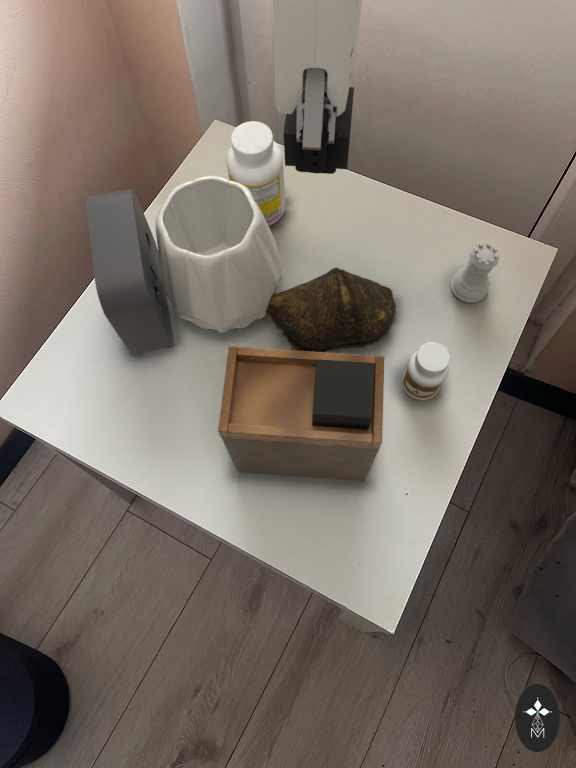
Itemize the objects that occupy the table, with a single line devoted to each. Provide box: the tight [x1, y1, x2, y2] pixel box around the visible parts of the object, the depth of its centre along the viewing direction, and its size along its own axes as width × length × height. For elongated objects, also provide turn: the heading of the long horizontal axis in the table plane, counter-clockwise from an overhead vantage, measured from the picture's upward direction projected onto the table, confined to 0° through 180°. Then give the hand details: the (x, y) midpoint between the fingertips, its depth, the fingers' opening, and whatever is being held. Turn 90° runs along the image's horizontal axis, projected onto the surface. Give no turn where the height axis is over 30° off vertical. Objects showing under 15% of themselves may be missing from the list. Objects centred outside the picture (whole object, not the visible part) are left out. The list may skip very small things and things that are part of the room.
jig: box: [217, 345, 385, 482], centre depth 61 cm, size 14×8×16 cm, turn 85°
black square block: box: [312, 359, 375, 430], centre depth 53 cm, size 5×5×4 cm
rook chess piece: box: [450, 242, 500, 303], centre depth 71 cm, size 4×4×8 cm
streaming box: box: [85, 188, 175, 355], centre depth 69 cm, size 14×14×5 cm
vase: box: [154, 175, 283, 334], centre depth 68 cm, size 14×14×15 cm
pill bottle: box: [401, 341, 451, 401], centre depth 67 cm, size 4×4×8 cm
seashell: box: [266, 267, 397, 353], centre depth 71 cm, size 16×9×7 cm, turn 98°
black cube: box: [282, 86, 355, 170], centre depth 48 cm, size 5×5×4 cm
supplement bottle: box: [225, 120, 286, 227], centre depth 74 cm, size 7×7×13 cm
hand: (318, 139), depth 49 cm, fingers closed on black cube, 5 cm apart
